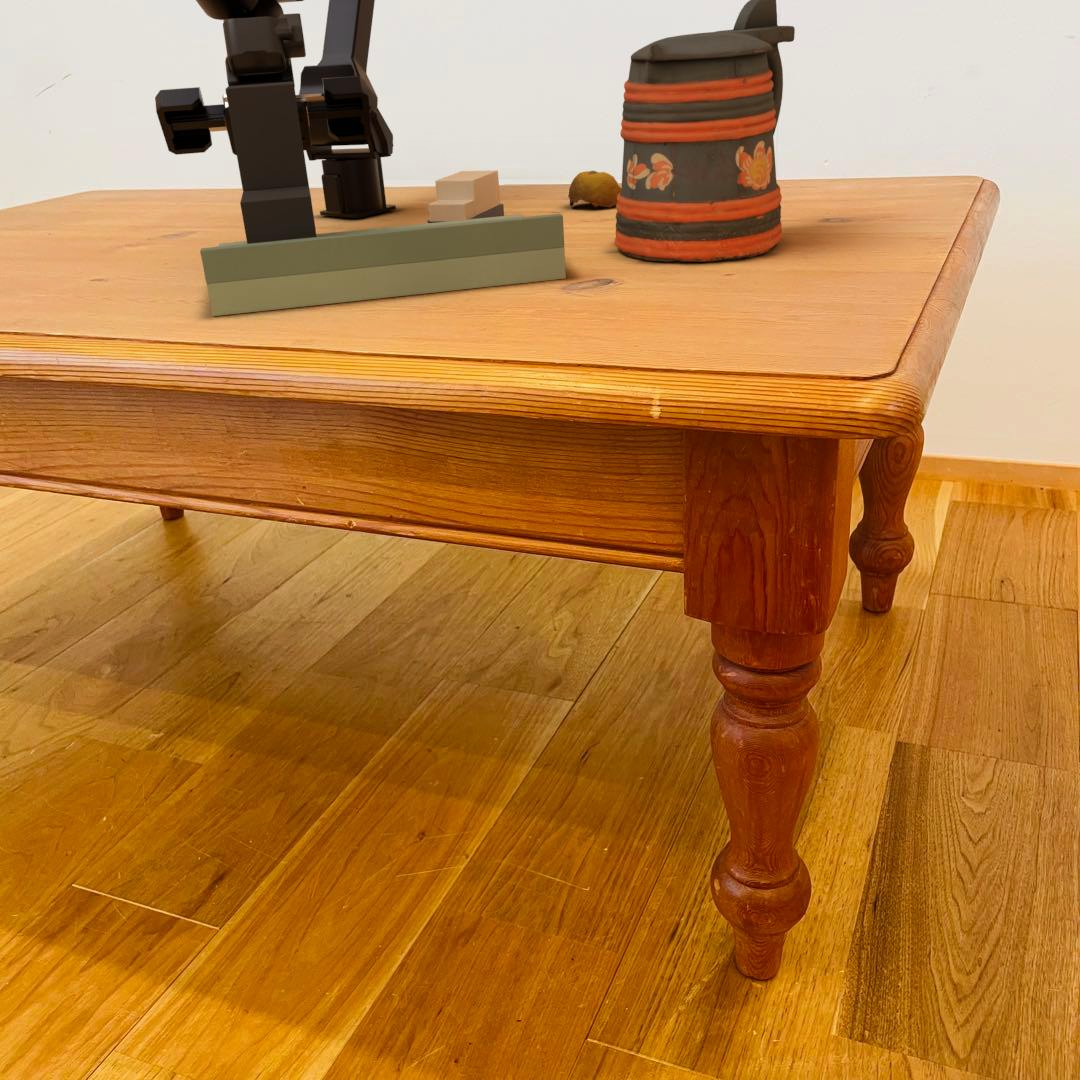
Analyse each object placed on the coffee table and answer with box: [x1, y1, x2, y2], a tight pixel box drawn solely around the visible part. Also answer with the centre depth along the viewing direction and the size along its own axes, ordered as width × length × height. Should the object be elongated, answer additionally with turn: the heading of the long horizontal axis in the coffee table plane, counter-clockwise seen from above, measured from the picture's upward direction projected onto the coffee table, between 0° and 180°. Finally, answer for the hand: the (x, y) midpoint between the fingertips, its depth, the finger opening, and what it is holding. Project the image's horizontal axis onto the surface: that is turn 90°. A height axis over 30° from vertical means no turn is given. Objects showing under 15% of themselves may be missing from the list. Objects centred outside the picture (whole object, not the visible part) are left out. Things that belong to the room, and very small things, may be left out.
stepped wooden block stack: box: [426, 170, 505, 223], centre depth 111 cm, size 10×4×5 cm, turn 161°
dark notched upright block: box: [225, 81, 317, 244], centre depth 90 cm, size 12×6×13 cm, turn 12°
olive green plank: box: [199, 213, 567, 317], centre depth 92 cm, size 18×28×5 cm, turn 102°
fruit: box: [567, 170, 622, 208], centre depth 119 cm, size 8×8×4 cm
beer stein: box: [614, 0, 796, 263], centre depth 93 cm, size 19×15×20 cm
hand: (276, 189), depth 96 cm, fingers closed, pressing on dark notched upright block
